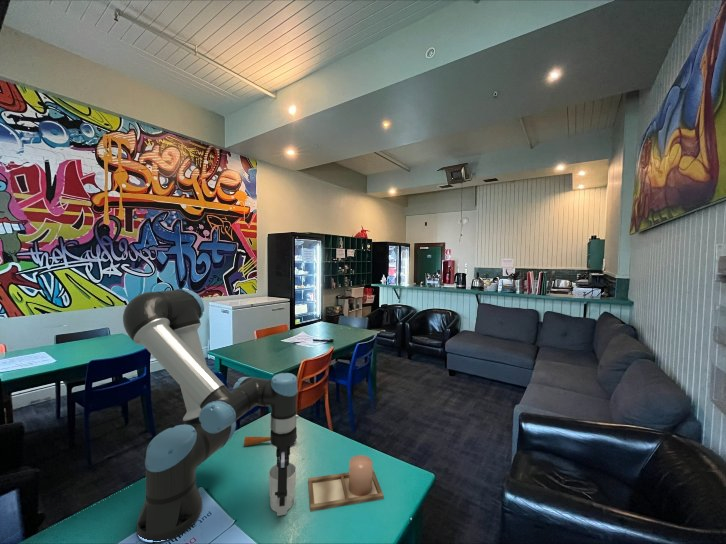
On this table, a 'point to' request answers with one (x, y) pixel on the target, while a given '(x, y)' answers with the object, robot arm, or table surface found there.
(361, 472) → the pink round cylinder
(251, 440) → the kendama
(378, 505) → the table surface
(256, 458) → the table surface
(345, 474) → the wooden divided tray
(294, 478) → the white cup
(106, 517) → the table surface
